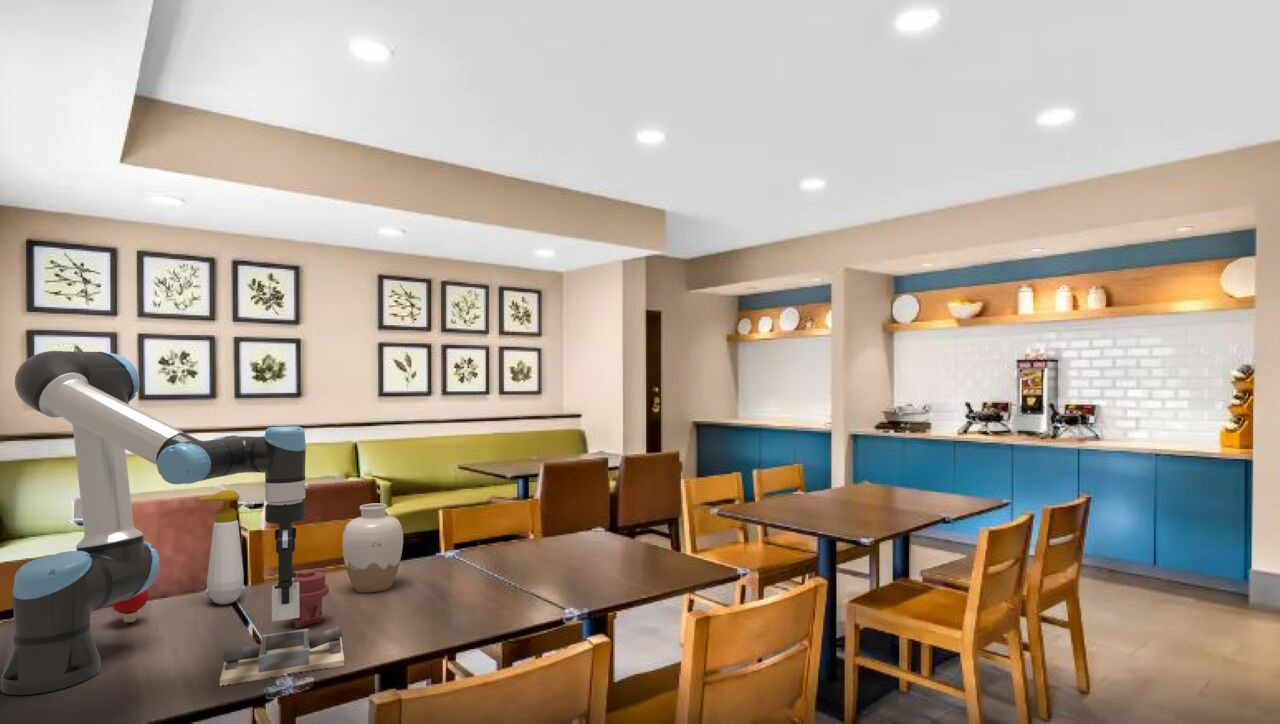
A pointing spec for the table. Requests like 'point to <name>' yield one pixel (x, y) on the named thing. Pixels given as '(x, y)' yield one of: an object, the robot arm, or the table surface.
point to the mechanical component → (310, 596)
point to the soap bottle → (225, 552)
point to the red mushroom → (131, 606)
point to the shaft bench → (283, 655)
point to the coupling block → (295, 602)
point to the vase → (372, 549)
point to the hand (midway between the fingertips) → (285, 614)
